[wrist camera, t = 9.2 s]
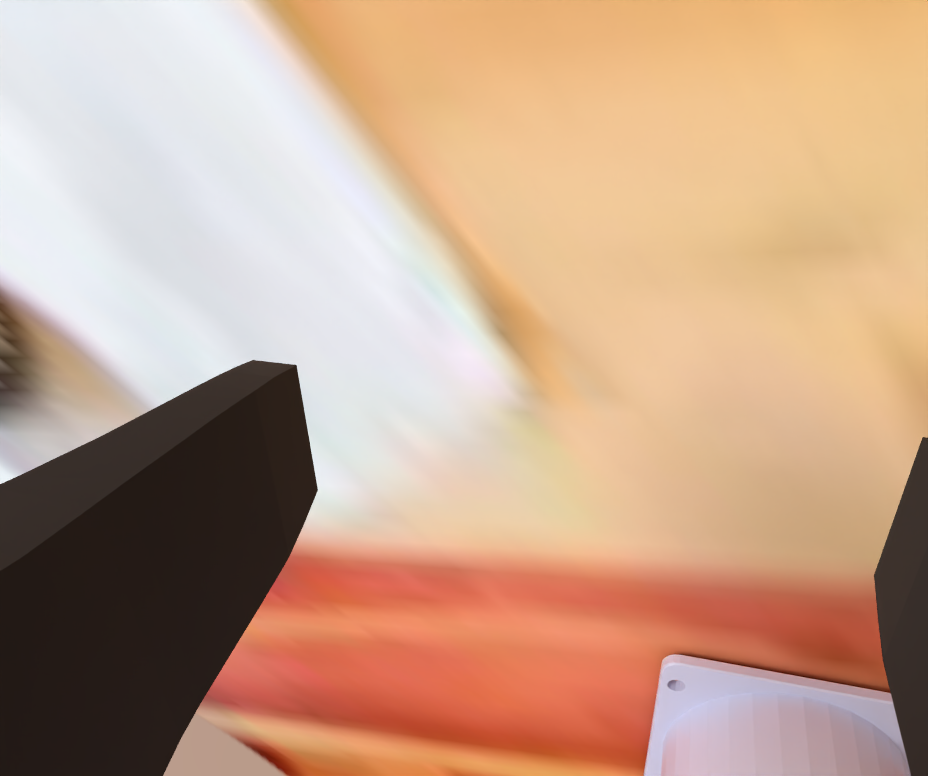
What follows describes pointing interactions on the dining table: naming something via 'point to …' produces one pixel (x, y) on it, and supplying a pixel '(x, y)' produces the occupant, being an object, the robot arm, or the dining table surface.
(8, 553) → the robot arm
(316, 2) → the dining table surface
